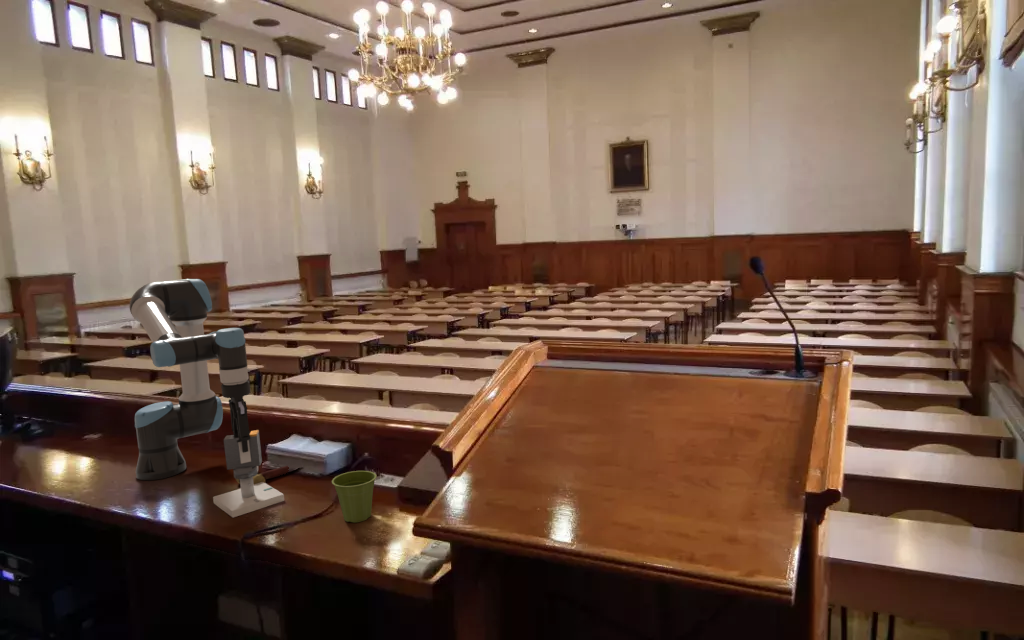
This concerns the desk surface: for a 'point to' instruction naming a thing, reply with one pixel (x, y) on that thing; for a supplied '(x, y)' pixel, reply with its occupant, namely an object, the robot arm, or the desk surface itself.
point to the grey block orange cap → (233, 455)
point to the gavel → (268, 475)
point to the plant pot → (355, 494)
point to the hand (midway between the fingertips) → (243, 459)
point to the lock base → (248, 498)
